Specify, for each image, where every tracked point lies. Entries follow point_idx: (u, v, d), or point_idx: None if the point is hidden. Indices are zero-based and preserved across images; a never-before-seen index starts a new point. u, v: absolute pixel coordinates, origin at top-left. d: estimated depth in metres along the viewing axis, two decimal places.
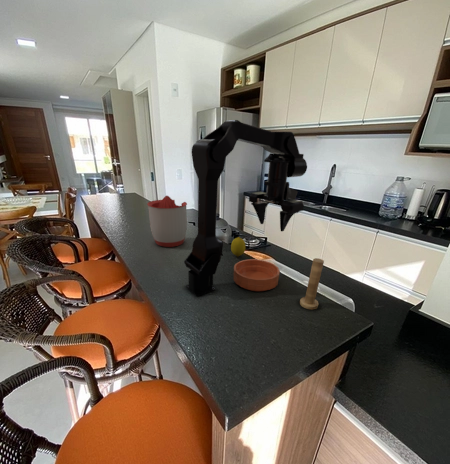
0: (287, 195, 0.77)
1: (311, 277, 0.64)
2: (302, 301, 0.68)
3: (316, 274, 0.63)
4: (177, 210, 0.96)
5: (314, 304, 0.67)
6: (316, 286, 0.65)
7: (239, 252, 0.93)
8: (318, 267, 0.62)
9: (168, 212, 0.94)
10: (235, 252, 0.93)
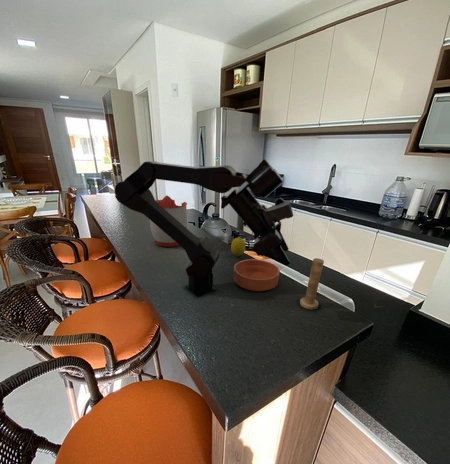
0: (269, 222, 0.58)
1: (311, 277, 0.64)
2: (302, 301, 0.68)
3: (316, 274, 0.63)
4: (177, 210, 0.96)
5: (314, 304, 0.67)
6: (316, 286, 0.65)
7: (239, 252, 0.93)
8: (318, 267, 0.62)
9: (168, 212, 0.94)
10: (235, 252, 0.93)
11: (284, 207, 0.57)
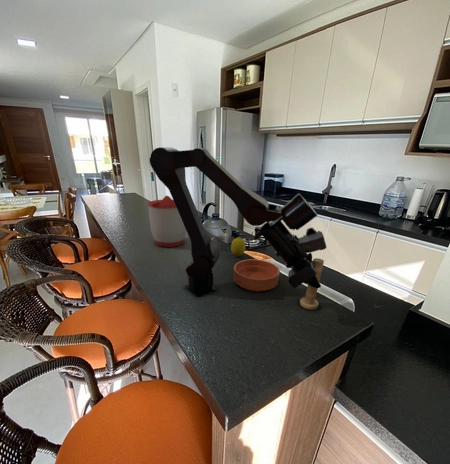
0: (302, 254, 0.60)
1: None
2: (302, 301, 0.68)
3: (316, 274, 0.63)
4: (177, 210, 0.96)
5: (314, 304, 0.67)
6: None
7: (239, 252, 0.93)
8: (318, 267, 0.62)
9: (168, 212, 0.94)
10: (235, 252, 0.93)
11: (318, 239, 0.58)
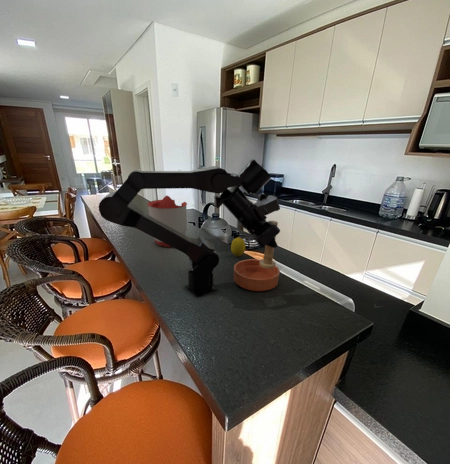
0: (262, 216, 0.65)
1: None
2: (262, 263, 0.74)
3: None
4: (177, 210, 0.96)
5: (272, 263, 0.74)
6: None
7: (239, 252, 0.93)
8: None
9: (168, 212, 0.94)
10: (235, 252, 0.93)
11: (273, 201, 0.64)
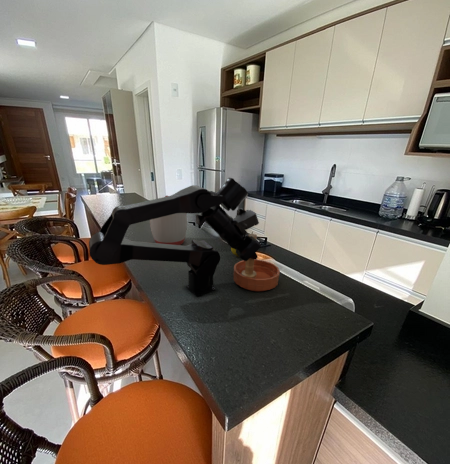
0: (242, 231, 0.68)
1: None
2: (244, 274, 0.77)
3: None
4: None
5: (254, 274, 0.78)
6: None
7: None
8: None
9: None
10: (235, 252, 0.93)
11: (253, 216, 0.67)
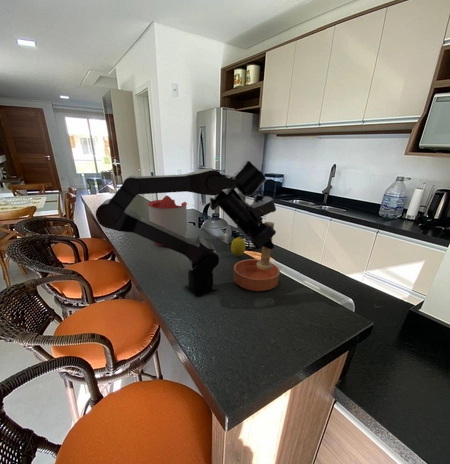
0: (258, 218, 0.65)
1: None
2: (259, 264, 0.74)
3: None
4: (177, 210, 0.96)
5: (269, 264, 0.74)
6: None
7: (239, 252, 0.93)
8: None
9: (168, 212, 0.94)
10: (235, 252, 0.93)
11: (269, 202, 0.64)
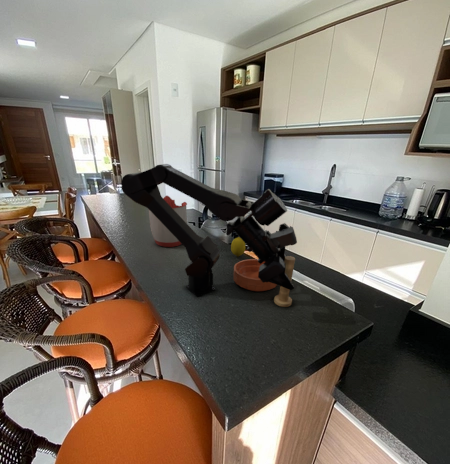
0: (273, 249, 0.60)
1: None
2: (276, 298, 0.69)
3: (287, 271, 0.64)
4: (177, 210, 0.96)
5: (287, 301, 0.68)
6: None
7: (239, 252, 0.93)
8: (289, 265, 0.63)
9: None
10: (235, 252, 0.93)
11: (288, 235, 0.58)
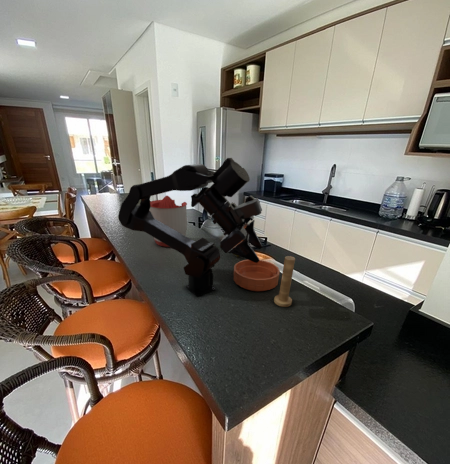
0: (237, 220, 0.59)
1: (283, 275, 0.65)
2: (276, 298, 0.69)
3: (287, 271, 0.64)
4: (177, 210, 0.96)
5: (287, 301, 0.68)
6: (288, 284, 0.65)
7: None
8: (289, 265, 0.63)
9: (168, 212, 0.94)
10: None
11: (251, 204, 0.57)
